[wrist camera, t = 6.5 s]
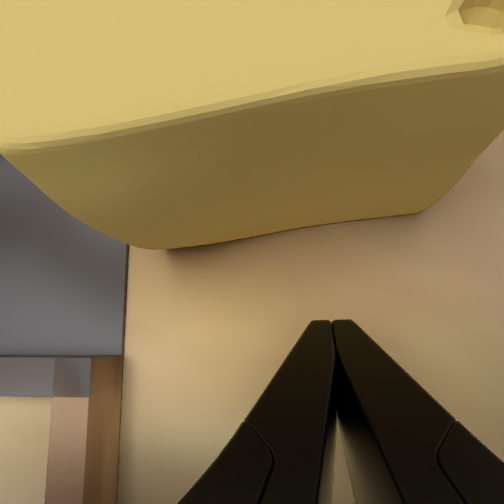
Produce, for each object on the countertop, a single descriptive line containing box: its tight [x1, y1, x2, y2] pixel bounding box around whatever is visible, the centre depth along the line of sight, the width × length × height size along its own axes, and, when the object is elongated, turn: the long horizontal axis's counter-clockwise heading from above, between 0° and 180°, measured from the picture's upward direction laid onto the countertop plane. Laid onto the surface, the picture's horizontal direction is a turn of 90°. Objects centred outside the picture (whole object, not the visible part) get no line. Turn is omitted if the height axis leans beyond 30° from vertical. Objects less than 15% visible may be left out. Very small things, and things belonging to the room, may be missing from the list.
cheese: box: [0, 0, 504, 249], centre depth 13 cm, size 10×11×10 cm
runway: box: [0, 154, 129, 504], centre depth 14 cm, size 22×29×4 cm
